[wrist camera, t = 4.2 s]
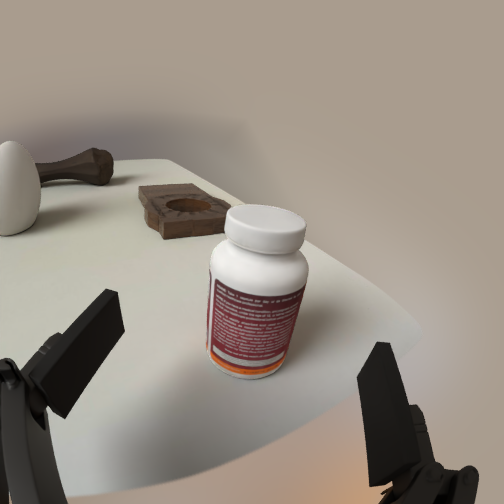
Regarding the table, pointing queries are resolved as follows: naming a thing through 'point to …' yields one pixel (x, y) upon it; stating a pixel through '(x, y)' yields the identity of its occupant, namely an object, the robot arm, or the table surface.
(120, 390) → the table surface
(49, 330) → the table surface
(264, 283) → the pill bottle
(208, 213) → the plate
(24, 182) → the decorative egg
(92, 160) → the dark brown bone
